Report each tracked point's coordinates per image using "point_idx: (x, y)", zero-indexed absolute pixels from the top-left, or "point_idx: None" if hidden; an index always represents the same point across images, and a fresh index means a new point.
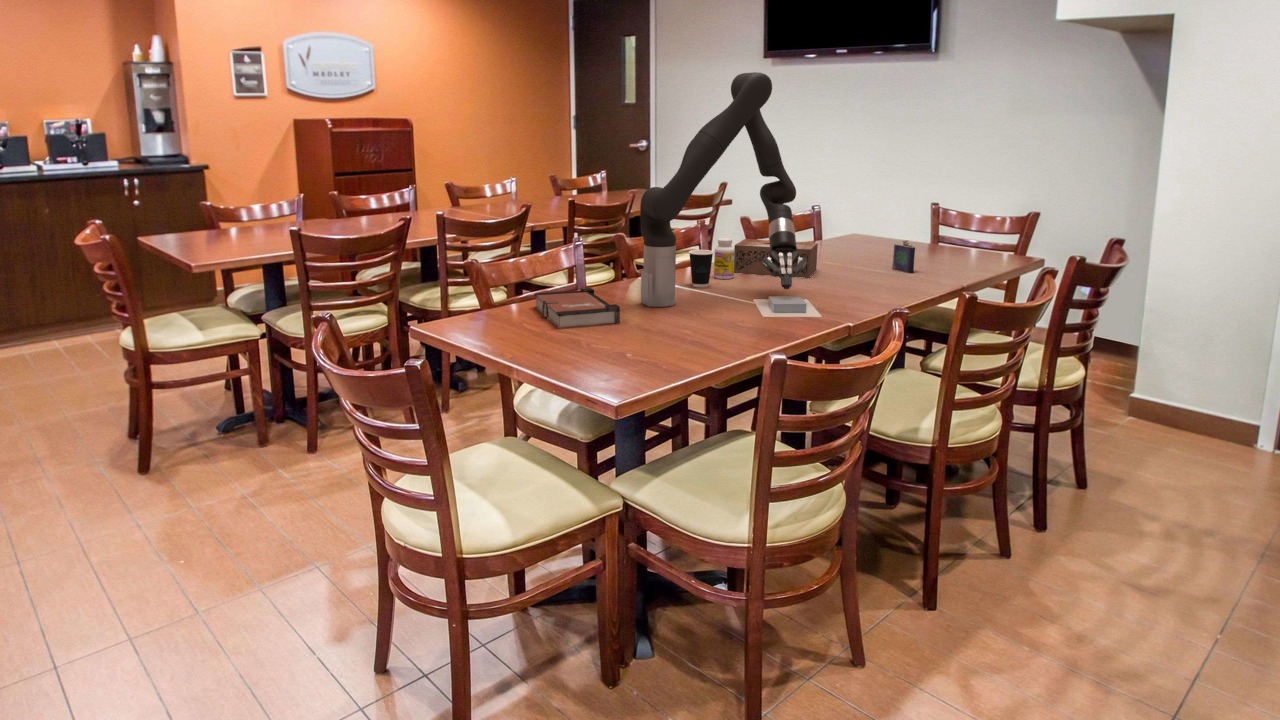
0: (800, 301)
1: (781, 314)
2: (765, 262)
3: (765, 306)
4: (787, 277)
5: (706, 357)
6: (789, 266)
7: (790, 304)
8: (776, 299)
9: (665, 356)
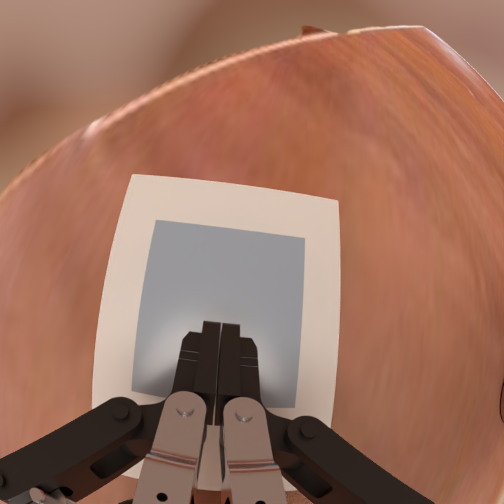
0: (164, 273)
1: (269, 220)
2: (413, 494)
3: (303, 368)
4: (213, 368)
5: (403, 50)
6: (173, 458)
7: (229, 229)
8: (273, 331)
9: (441, 72)
